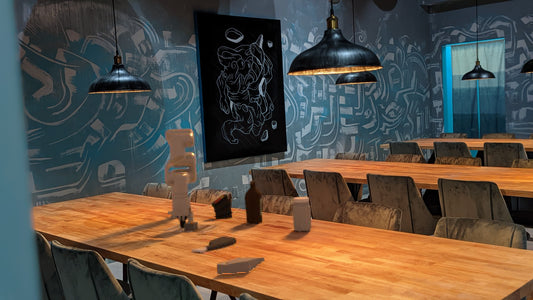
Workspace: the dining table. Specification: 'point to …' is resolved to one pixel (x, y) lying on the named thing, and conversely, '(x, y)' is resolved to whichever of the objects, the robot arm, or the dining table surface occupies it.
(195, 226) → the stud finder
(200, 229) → the panel
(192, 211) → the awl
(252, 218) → the olive oil
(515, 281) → the dining table surface
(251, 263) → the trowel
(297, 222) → the jar
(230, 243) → the brown brush
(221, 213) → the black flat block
